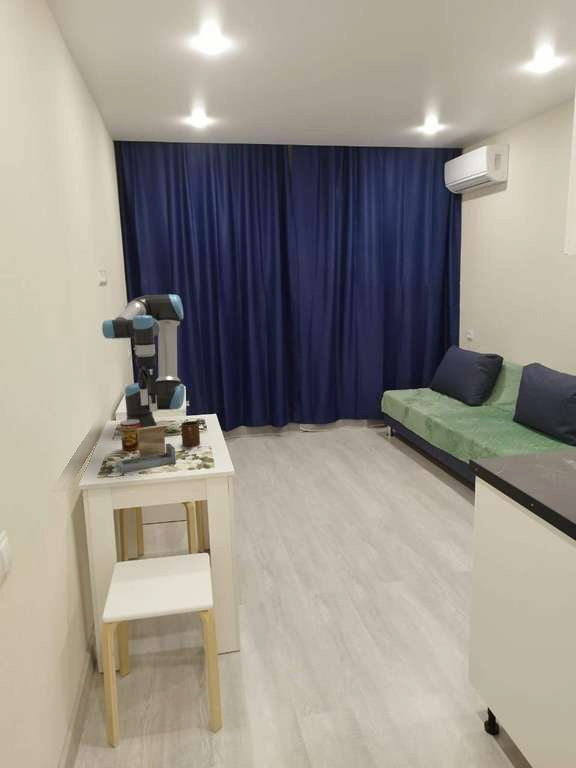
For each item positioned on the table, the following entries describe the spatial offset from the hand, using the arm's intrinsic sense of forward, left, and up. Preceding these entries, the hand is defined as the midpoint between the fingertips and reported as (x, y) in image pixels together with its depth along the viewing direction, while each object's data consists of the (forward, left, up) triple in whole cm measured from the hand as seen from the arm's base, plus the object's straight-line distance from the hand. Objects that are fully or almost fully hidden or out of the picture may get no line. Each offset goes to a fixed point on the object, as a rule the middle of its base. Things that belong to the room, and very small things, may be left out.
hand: (149, 408), depth 226 cm
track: (+10, -5, -20) cm, 23 cm away
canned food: (-14, -5, -20) cm, 25 cm away
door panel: (0, 0, -20) cm, 20 cm away
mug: (-5, +18, -20) cm, 27 cm away
